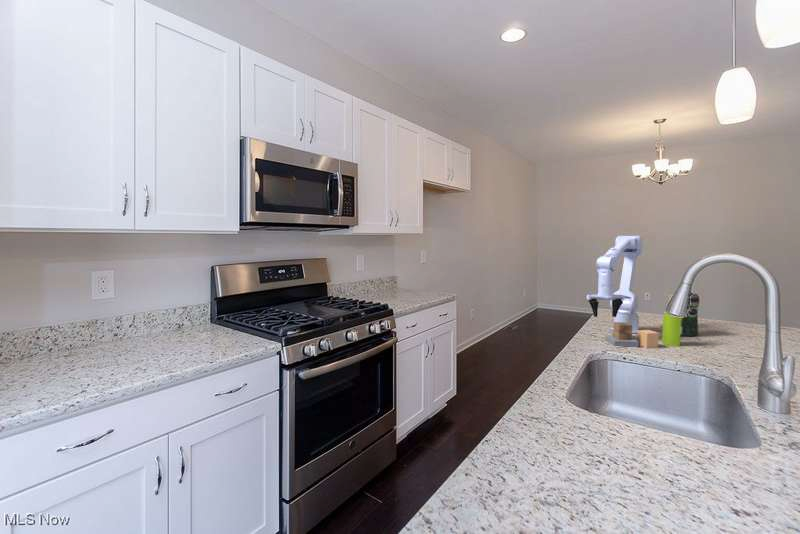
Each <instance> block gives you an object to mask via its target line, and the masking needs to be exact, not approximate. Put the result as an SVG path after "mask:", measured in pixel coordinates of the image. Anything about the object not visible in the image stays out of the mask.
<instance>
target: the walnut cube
mask: <svg viewBox="0 0 800 534" xmlns="http://www.w3.org/2000/svg"><path fill="white" fill-rule="evenodd" d="M612 328H613V330H612V335H613V337H615V338H616V339H618V340H632V338H633V333H632V325H631V324H629V323H626V322H614V321H613V326H612Z"/></svg>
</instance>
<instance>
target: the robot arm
mask: <svg viewBox="0 0 800 534" xmlns="http://www.w3.org/2000/svg"><path fill="white" fill-rule="evenodd" d="M643 241H644V240H643V237H642V236H641V235H617V237H616V238H615V245H614V246H613V247H610V248H609V249H608V251H607V252H606V253H605V254H603V256H599V257H598V258H597V259H596V263H595V265H596V270H597V274H598V279H597V280H598V281H597V282H598V284H597V285H598V287H597V293H596V294H594V293H593V294H586V300H588V303H589V304H590V307H591V310H592V314H593V317H595V318H597V317H598V308H599V304H600V301H598V300H601V301H602V300H603V301H604V300H606V301H607V300H608V301H609V300H610V302H609V306H610V309H611V310H612V311H611V314H612V317H613V323H614V322H626V323H629V324H631V325H632V334H637V333H638V330H640V329H639V328H640V327H639V325H640V323H639V322H640V318H639V314H638V313H637V312H636V311H637V309H638V296H637V295H636V294H635V293H634V292H632V290H633V282H634V277H635V270H636V264H637V258H638V257H639V256H641V255H642V251H643V248H644V247H643V246H644V242H643ZM622 257H624V258H623V265H622V270H621V271H622V272H621V275H620V276H621V277H620V282H619V289H618V290H617V291H615V292H614V283H615V282H614V281H615V270H616V269H617V267H618V264H619V261H620V259H622ZM609 329H610V330H612V331H613V327H609Z"/></svg>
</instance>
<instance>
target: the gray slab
mask: <svg viewBox="0 0 800 534" xmlns="http://www.w3.org/2000/svg"><path fill="white" fill-rule="evenodd" d="M606 341H607V342H608V343H607V342H606ZM604 342H606V343H607V344H609V343H610V344H612V345H613V346H621V347H620V348H627V347H638V348H639V347H640V346H639V341H637V339H635V338H633V337H632V340H618V339H616V338H615V337H613V334H612V335H611V334H610V335H609V334H605V335H604ZM610 344H609V345H610ZM612 345H611V346H612ZM613 346H612V347H613ZM622 346H623V347H622Z"/></svg>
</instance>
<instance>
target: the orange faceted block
mask: <svg viewBox="0 0 800 534" xmlns="http://www.w3.org/2000/svg"><path fill="white" fill-rule="evenodd" d="M636 335H637V336H636V337H637V339H636V340H637V341H639V345H640V346H639V347H642V346H643V347H642V348H644V347H646V348H645V349H658V348H659V332H657V331H654V330H650V329H641V330H640V329H638V333H636Z"/></svg>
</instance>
